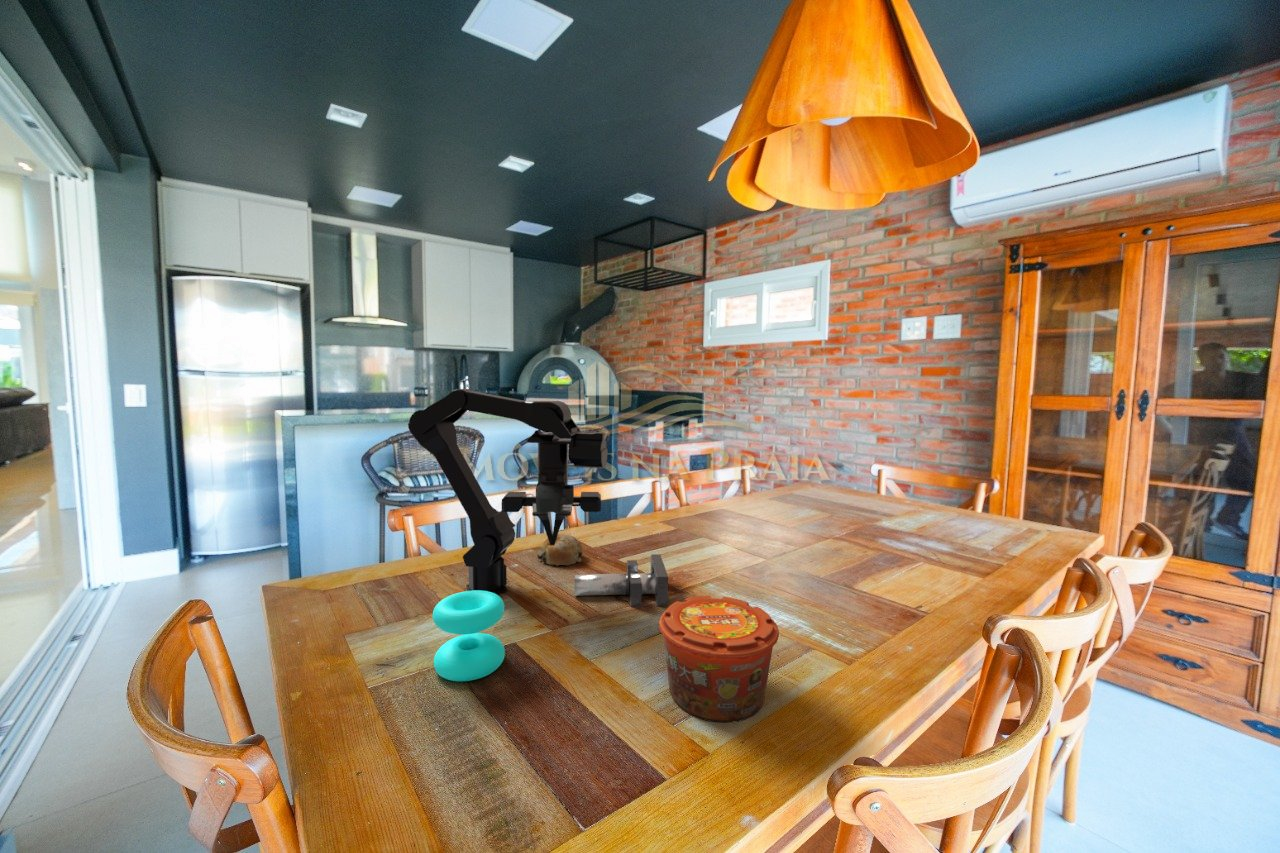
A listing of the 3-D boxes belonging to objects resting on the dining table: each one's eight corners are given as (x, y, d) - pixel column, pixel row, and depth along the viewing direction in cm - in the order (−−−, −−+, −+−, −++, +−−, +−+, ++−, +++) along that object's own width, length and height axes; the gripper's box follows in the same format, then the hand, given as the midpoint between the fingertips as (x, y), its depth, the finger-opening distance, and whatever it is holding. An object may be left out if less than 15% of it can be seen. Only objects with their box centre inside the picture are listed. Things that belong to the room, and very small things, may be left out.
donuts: (492, 617, 70) (419, 615, 71) (493, 686, 71) (421, 684, 72) (512, 588, 80) (449, 586, 81) (512, 649, 81) (450, 647, 82)
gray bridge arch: (657, 606, 97) (657, 576, 97) (650, 580, 110) (650, 554, 109) (667, 605, 98) (668, 576, 97) (659, 580, 110) (660, 554, 110)
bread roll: (570, 582, 118) (586, 552, 117) (530, 563, 117) (545, 532, 117) (576, 567, 127) (590, 538, 127) (539, 549, 127) (553, 520, 126)
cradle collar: (630, 606, 97) (631, 583, 97) (627, 581, 109) (627, 560, 109) (641, 606, 97) (641, 583, 97) (636, 580, 110) (636, 560, 109)
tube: (574, 599, 100) (574, 581, 99) (575, 588, 104) (575, 570, 103) (656, 598, 102) (656, 580, 101) (654, 586, 106) (654, 569, 105)
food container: (693, 746, 60) (696, 658, 59) (639, 674, 75) (640, 602, 74) (802, 713, 67) (805, 633, 66) (732, 652, 81) (734, 586, 80)
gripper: (495, 473, 91) (496, 559, 92) (601, 473, 93) (600, 558, 94) (506, 463, 102) (506, 540, 103) (601, 463, 104) (600, 539, 105)
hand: (552, 544), depth 101 cm, fingers closed
